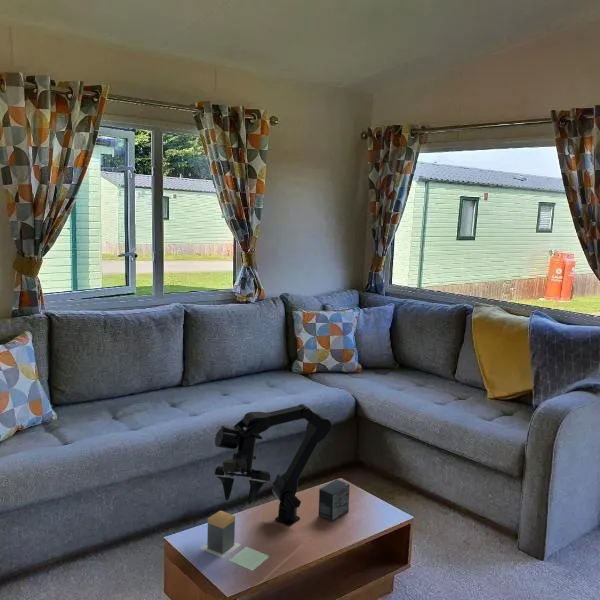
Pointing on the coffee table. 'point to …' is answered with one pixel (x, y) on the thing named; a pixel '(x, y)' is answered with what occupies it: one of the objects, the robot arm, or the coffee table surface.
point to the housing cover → (221, 519)
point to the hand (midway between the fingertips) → (238, 501)
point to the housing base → (221, 537)
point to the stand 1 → (219, 553)
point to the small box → (334, 500)
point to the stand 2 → (249, 558)
